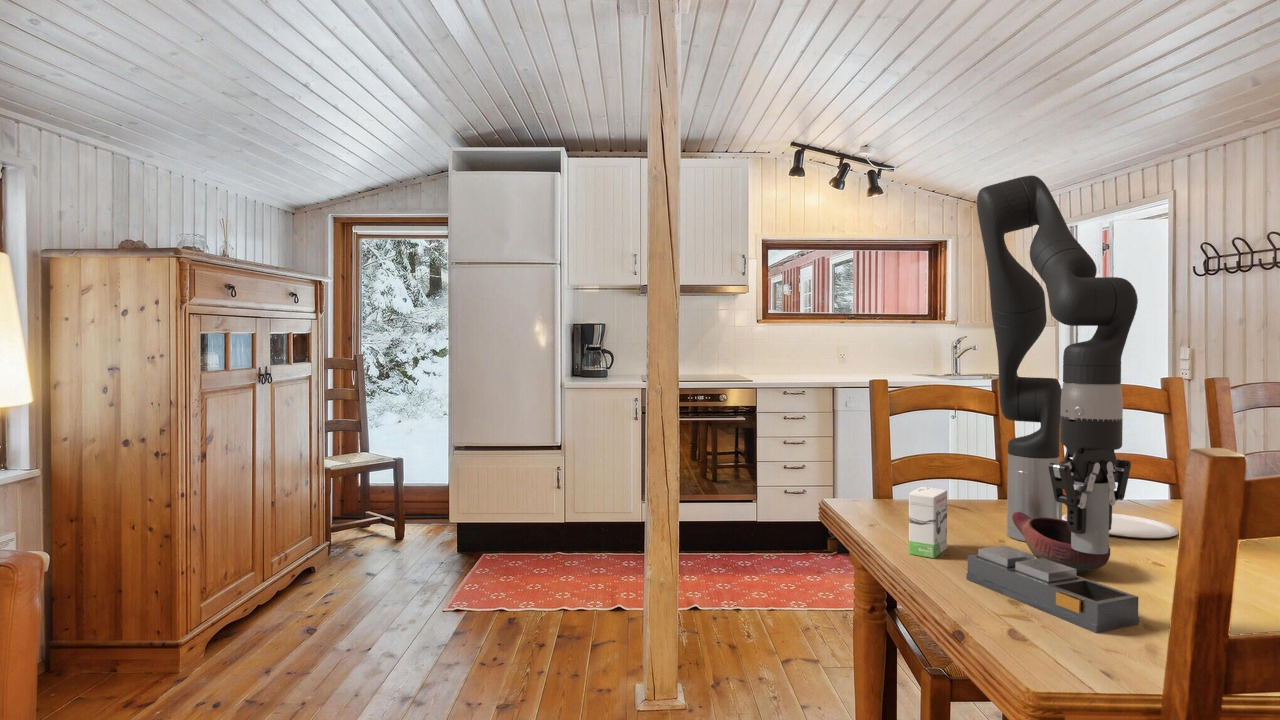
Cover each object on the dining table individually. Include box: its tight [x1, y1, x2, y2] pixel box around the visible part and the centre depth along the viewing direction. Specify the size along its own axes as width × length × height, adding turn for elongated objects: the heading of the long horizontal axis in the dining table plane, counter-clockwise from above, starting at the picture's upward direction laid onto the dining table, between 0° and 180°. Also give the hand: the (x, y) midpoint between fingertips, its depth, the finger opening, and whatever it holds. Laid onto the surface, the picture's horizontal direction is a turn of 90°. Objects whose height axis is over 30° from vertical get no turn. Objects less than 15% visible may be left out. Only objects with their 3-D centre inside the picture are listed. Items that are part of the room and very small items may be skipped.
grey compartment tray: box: [965, 544, 1140, 634], centre depth 104 cm, size 23×9×5 cm, turn 19°
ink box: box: [908, 486, 948, 559], centre depth 129 cm, size 9×5×12 cm, turn 140°
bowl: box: [1012, 512, 1111, 573], centre depth 120 cm, size 16×13×8 cm
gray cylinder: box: [1071, 480, 1110, 554], centre depth 97 cm, size 4×4×10 cm
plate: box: [1062, 512, 1179, 540], centre depth 146 cm, size 21×21×1 cm
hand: (1089, 530), depth 97 cm, fingers closed on gray cylinder, 4 cm apart
